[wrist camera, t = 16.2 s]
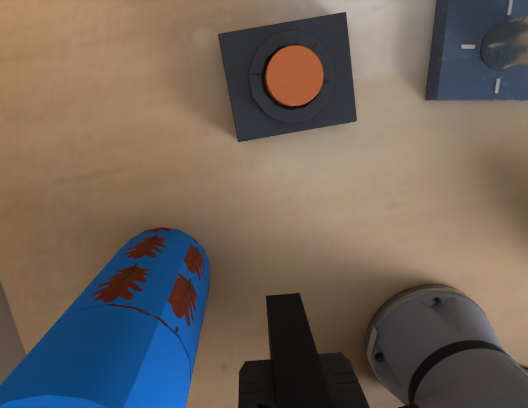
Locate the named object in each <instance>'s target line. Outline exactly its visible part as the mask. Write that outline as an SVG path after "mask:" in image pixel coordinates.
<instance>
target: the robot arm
mask: <svg viewBox="0 0 528 408" xmlns="http://www.w3.org/2000/svg"><path fill="white" fill-rule="evenodd" d="M266 303H267V317H268V332H269V346H270V357H271V359H268V360H257V361H245V363H244V365H243V366H242V368H241V370H240V371H239V404H238V408H370V407H369V405H368V403H367V400H366V398H365V396H364V393H363V391H362V388H361V386H360V384H359V382H358V379H357V376H356V374H355V372H354V369H353V367H352V365H351V362H350V360H348V359H347V358H346V357H345V356H344V355H343V354H342V353H341V352H337V353H325V354H318V353H317V350H316V346H315V343H314V340H313V336H312V333H311V330H310V326H309V323H308V320H307V316H306V313H305V310H304V306H303V303H302V299H301V296H300V293H293V294H281V295H269V296H266ZM365 350H366V356H367V359H368V361H369V364H370V366H371V368H372V370H373V372H374V374H375V376H376V377H377V379H378V380H379V381H380V383H381V384H382V385H383V386H384V387H386V388H387V389H388V390H389V391H390V392H391V393H392V394H393V395H395V396H396V397H397V398H398V399H399V400H400V401H401V402H403V403H404V404H405V406H402V407H398V408H528V369H525V368H522V367H521V366H520V365H519V364H518V363H517V362H516V361H514V360H513V359H512V358H511V357H510V356H509V355H508V354H507V353H506V352H505V351H504V350H503V349H502V347H501V345H500V343H499V341H498V339H497V337H496V335H495V333H494V331H493V329H492V327H491V325H490V323H489V321H488V319H487V317H486V315H485V313H484V312H483V311H482V309H481V308H480V307H479V306H478V305H477V304H476V303H475V302H473V301H472V300H471V299H470V298H469V297H467V296H466V295H465V294H463V293H462V292H460V291H458V290H456V289H454V288H451V287H447V286H442V285H423V286H418V287H414V288H410V289H408V290H405V291H403V292H401V293H399V294H397V295H396V296H394V297H392V298H391V299H390V300H388V301H387V302H386V303H385V304H384V305H383V306H382V307H381V308H380V309H379V310H378V312H377V313H376V314H375V316H374V317H373V319H372V321H371V323H370V325H369V327H368V330H367V334H366V339H365Z"/></svg>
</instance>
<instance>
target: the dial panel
mask: <svg viewBox="0 0 528 408" xmlns="http://www.w3.org/2000/svg"><path fill="white" fill-rule="evenodd" d="M526 15H528V0H437V2H436V10H435V19H434V28H433V37H432V45H431V54H430V63H429V72H428V80H427V89H426V98H425V100H447V101H528V67H525V68H519V69H512V70H505V71H496V70H493V69H491V68H489V67H488V66H487V65H486V64H485V62H484V60H483V58H482V44H483V41H484V38H485V37H486V35H487V34H488V32H489V31H490V30H491V29H492V28H493V27H495V26H497V25H499V24H502V23H505V22H508V21H511V20H514V19H517V18H520V17H523V16H526Z"/></svg>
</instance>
